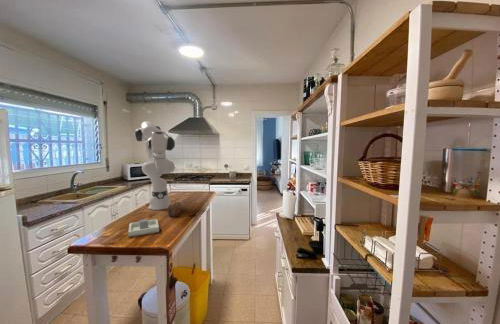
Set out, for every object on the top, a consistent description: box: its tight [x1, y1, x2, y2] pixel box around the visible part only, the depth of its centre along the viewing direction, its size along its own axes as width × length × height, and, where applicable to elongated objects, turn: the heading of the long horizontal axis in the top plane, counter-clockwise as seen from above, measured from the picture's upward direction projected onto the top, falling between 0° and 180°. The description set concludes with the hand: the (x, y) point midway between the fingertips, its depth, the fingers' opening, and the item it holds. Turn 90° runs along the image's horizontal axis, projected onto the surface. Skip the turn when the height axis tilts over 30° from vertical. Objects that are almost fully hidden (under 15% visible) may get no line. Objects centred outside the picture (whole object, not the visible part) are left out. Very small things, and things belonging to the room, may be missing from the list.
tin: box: [167, 201, 182, 217], centre depth 165 cm, size 15×3×8 cm, turn 168°
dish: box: [127, 218, 160, 238], centre depth 134 cm, size 16×16×3 cm
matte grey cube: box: [139, 218, 149, 229], centre depth 134 cm, size 4×4×5 cm
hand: (159, 175), depth 151 cm, fingers open, 8 cm apart
